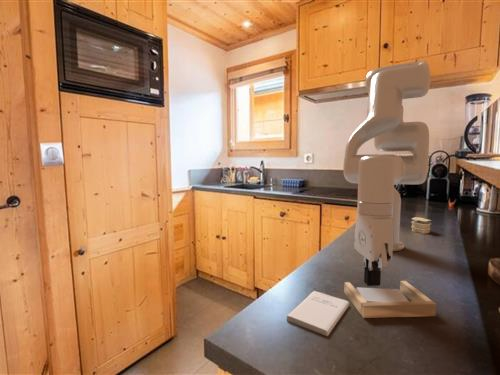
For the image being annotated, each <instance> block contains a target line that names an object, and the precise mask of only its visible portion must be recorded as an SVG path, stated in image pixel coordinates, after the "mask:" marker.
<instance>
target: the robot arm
mask: <svg viewBox="0 0 500 375" xmlns="http://www.w3.org/2000/svg"><path fill="white" fill-rule="evenodd" d="M431 81H432V79H431V69H430V65H429V63H428V62H427V61H426V60H417V61H411V62H406V63H398V64H392V65H386V66H380V67H377V68H374V69H372V70H370V71H368V72H367V74H366V76H365V87H366V90H367V94H368V101H367V110H366V119H365V120H364V121H363V122H362V123H360V124H359V126H358V127H356V128H355V130H354V131H353V133H352V134H351V135H350V137H349V138H348V140H347V143H346V146H345V151H344V152H345V153H344V159H343V170H342V171H343V176H344V179H345V180H346V181H347V182H348V183H351V184H357V207H356V208H357V211H356V212H357V213H356V219H355V226H354V229H355V230H354V238H353V239H354V240H353V241H354V244H353V247H354V250H356V252H357V253H359V254H360V255H362V256H363V266H364V270H363V271H364V273H363V283H365V284H366V286H367V287H377V286H378V287H379V286H381V279H382V278H381V276H382V275H381V274H382V270H383V269H388V268H389V266H388V262H390V261H391V260H393V253H394V252H397V251H402V250H403V249H405V244H404V242H401V241H400V229H401V228H400V227H401V206H402V198H401V194H400V192H399V191H398V190H397V189H396V188H395V185H421V184H424V183H425V182H426V180H427V178H428V171H429V155H430V154H429V152H430V149H429V148H430V131H429V130H430V129H429V126H428V125H427V123H425V122H424V121H404V106H403V100H406V99H407V100H408V99H415V98H417V99H418V98H422V97H425V96H427V94H428V92H429V90H430V87H431ZM372 139H374V140H373V142H374V147H375V150H377V151H379V152H386V153H387V152H389V153H391V152H393V153H397V152H398V153H399V152H404V153H405V152H408V153H411V155H398V154H388V153H387V154H358V151H359V149H360V148H361V147H362V146H363V145H364V144H365V143H366V142H368V141H370V140H372Z"/></svg>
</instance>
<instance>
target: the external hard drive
mask: <svg viewBox="0 0 500 375" xmlns="http://www.w3.org/2000/svg"><path fill="white" fill-rule="evenodd" d="M349 307H350V302H349V301H348V300H346V299H343V298H339V297H335V296H333V295H329V294H327V293H326V294H325V293H323V292H321V291H320V292H319V291H316V290H314V291H312V292H311V293H310V294H309V295H308V296H307V297H306V298H304V300H302V301H301V302H300V303H299V304H298V305H297V306H296V307H295V308H294V309H292V311H291V312H289V313H288V315H287V316H286V321H287V322H289V323H290V322H291V323H292V324H295V325H298V326H300V327H303V328H305V329H307V330H310V331H313V332H315V333H318V334H320V335H322V336H326V337H328V336H329V335H330V334H331V333H332V331H333V329H334V328H335V327H336V325H337V323H338V322H339V321H340V319H341V318H342V316H343V315H344V314H345V312H346V311H347V309H348V308H349Z"/></svg>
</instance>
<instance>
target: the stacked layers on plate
mask: <svg viewBox="0 0 500 375" xmlns="http://www.w3.org/2000/svg"><path fill="white" fill-rule="evenodd" d="M411 220H412V221H411V226H410V228H412V229H411V232H414V233H420V234H429V233H430V230H431V229H432V228H431V227H430V225H432V222H431V221H432V220H431V219H428V218H423V217H420V216H419V217H417V216H416V217H415V216H414V217H412V218H411ZM429 221H430V222H431V223H430V222H429Z"/></svg>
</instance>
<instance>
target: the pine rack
mask: <svg viewBox="0 0 500 375" xmlns="http://www.w3.org/2000/svg"><path fill="white" fill-rule="evenodd" d="M399 283H400V284H399V290H400V292H401V293H402V294H403V295H404V296H405V297H406V298H407V299H409V300H410V301H409V300H408V301H407V302H368V303H367V302H366V301H365V299H364V298H363V297H362V296H361V295H360V294H359V293H358V291H357V290H356V288H355V286H354V285H353V284H352V283H351V281H347V282H346V281H345V282H344V284H343V285H344V287H343V288H344V289H343V290H344V291H343V292H344V294H345V296H346V297H347V298H348V300H349V301H350V302H351V304H352V305H353V306H354V308H356V310H357V312H358V313H359V314H360V315H361V317H362V318H363V319H371V318H374V319H377V318H380V319H381V318H411V317H413V318H414V317H436V316H437V315H436V313H437V303H435V302H434V301H433V300H431V299H430V298H429V297H428V296H426V295H425V294H424V293H423V292H421V291H420V290H419V289H417V288H415V287H414V286H413V285H412V284H410V283H409V282H408V281H406V280H400V281H399Z"/></svg>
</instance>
